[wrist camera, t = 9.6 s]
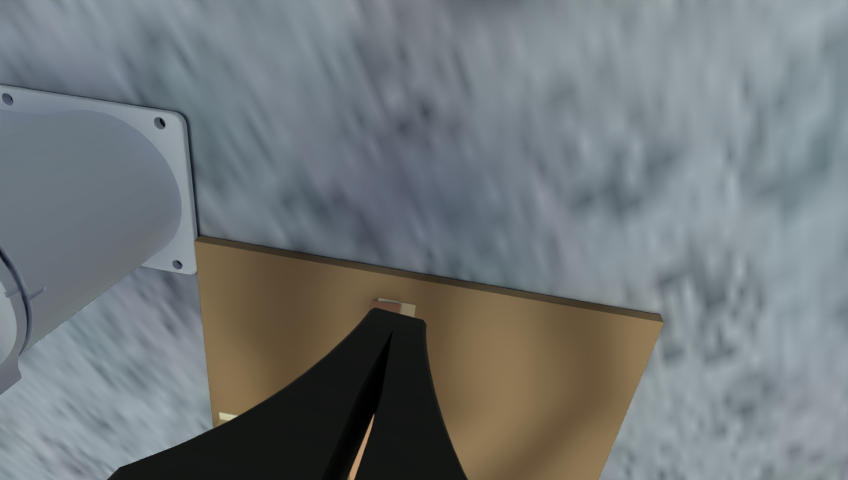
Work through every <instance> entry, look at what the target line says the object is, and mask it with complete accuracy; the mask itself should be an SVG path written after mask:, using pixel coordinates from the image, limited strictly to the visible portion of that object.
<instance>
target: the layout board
mask: <svg viewBox="0 0 848 480" xmlns="http://www.w3.org/2000/svg"><path fill="white" fill-rule="evenodd" d="M194 247H195V257H196V266H197V276H198V285H199V295H200V304H201V314H202V324H203V333H204V343H205V352H206V362H207V372H208V381H209V391H210V400H211V410H212V420H213V428H214V427H215V425H216V424H217V422H218V421H219V419H224V420H231V419H233V418H235V417H237V416H239V415H240V414H242V413H244V412H246V411H247V410H249V409H251V408H252V407H254V406H256V405H257V404H259V403H261V402H262V401H264V400H266V399H267V398H269V397H271V396H272V395H274V394H275V393H277V392H278V391H280V390H281V389H283V388H284V387H286V386H287V385H288V384H290V383H291V382H293V381H294V380H295V379H297V378H298V377H299V376H301V375H302V374H303V373H305V372H306V371H307V370H308V369H310V368H311V367H312V366H313V365H315V364H316V363H317V362H318V361H320V360H321V359H322V358H323V357H324V356H326V355H327V354H328V353H329V352H330V351H331V350H332V349H333V348H334V347H336V346H337V345H338V344H339V343H340V342H341V341H342V340H343V339H344V338H345V337H346V336H347V335H348V334H349V333H350V332H351V331H352V330H353V329H354V328H355V327H356V326H357V325H358V324H359V323H360V322H361V321H362V319H363V318H364V317H365V316H366V315H367V312H368V310H369V308H370V305H371V303H372V301H378V302H385V303H392V304H399V305H401V314H403V315H407V316H411V317H415V318H419V319H422V320H424V321H425V323H426V324H427V327H426V342H427V351H428V359H429V365H430V370H431V375H432V379H433V384H434V388H435V392H436V396H437V400H438V403H439V407H440V410H441V414H442V417H443V420H444V423H445V426H446V429H447V431H448V434H449V437H450V439H451V442H452V445H453V447H454V450H455V452H456V454H457V457H458V459H459V461H460V464H461V466H462V468H463V470H464V472H465V474H466V476H467V478H468V480H599V477H600V475H601V472H602V470H603V468H604V465H605V463H606V460H607V458H608V456H609V453H610V451H611V448H612V446H613V444H614V441H615V439H616V436H617V434H618V432H619V429H620V427H621V424H622V422H623V420H624V417H625V415H626V412H627V410H628V408H629V405H630V403H631V400H632V398H633V396H634V393H635V391H636V388H637V386H638V384H639V381H640V379H641V376H642V374H643V372H644V369H645V367H646V364H647V362H648V360H649V357H650V355H651V352H652V350H653V348H654V345H655V343H656V340H657V338H658V336H659V333H660V331H661V328H662V326H663V324H664V322H663V320H662V318H661V316H660V315H658V314H652V313H646V312H640V311H635V310H629V309H623V308H617V307H611V306H606V305H600V304H594V303H588V302H582V301H576V300H571V299H565V298H559V297H553V296H547V295H542V294H536V293H530V292H524V291H518V290H513V289H507V288H501V287H495V286H489V285H484V284H478V283H472V282H466V281H460V280H455V279H449V278H443V277H437V276H431V275H426V274H420V273H414V272H408V271H402V270H397V269H391V268H385V267H379V266H373V265H368V264H362V263H356V262H350V261H344V260H339V259H333V258H327V257H321V256H315V255H310V254H304V253H298V252H292V251H286V250H281V249H275V248H269V247H263V246H257V245H252V244H246V243H240V242H234V241H228V240H223V239H217V238H211V237H205V236H200V237H198V238H197V239H196V240H195V241H194Z"/></svg>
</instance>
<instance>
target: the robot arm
mask: <svg viewBox="0 0 848 480" xmlns="http://www.w3.org/2000/svg"><path fill="white" fill-rule="evenodd" d="M10 96H11V97H12V99H13V101H12V100H11V98H10ZM160 118H162V119H163V120H164V121H165V124H166V126H165V127H164V126H162V124H161V123H160V121H159V120H160ZM197 238H198V234H197V224H196V214H195V204H194V194H193V184H192V174H191V164H190V154H189V144H188V134H187V125H186V121H185V119H184V118H183V116H182V115H180V114H179V113H177V112H174V111H167V110H161V109H154V108H148V107H141V106H135V105H128V104H122V103H116V102H109V101H103V100H96V99H90V98H83V97H77V96H71V95H64V94H58V93H51V92H45V91H38V90H32V89H25V88H19V87H13V86H6V85H0V395H1V394H2V393H4V392H5V391H6V390H7V389H9V388H10V387H11V386H12V385H14V384H15V383H16V382H17V381H19V380H20V379H21V374H20V371H19V368H18V356H19V355H20V354H22V353H23V352H24V351H26V350H27V349H28V348H30V347H31V346H32V345H34V344H35V343H37V342H38V341H39V340H41V339H42V338H43V337H45V336H46V335H47V334H49V333H50V332H51V331H53V330H54V329H55V328H57V327H58V326H59V325H61V324H62V323H63V322H65V321H66V320H67V319H69V318H70V317H71V316H73V315H74V314H76V313H77V312H78V311H80V310H81V309H82V308H84V307H85V306H86V305H88V304H89V303H90V302H92V301H93V300H94V299H96V298H97V297H98V296H100V295H101V294H102V293H104V292H105V291H106V290H108V289H109V288H110V287H112V286H113V285H115V284H116V283H117V282H119V281H120V280H121V279H123V278H124V277H125V276H127V275H128V274H129V273H131V272H132V271H133V270H135V269H136V268H137V267H139V266H143V267H148V268H154V269H159V270H165V271H171V272H176V273H182V274H187V275H193V274H195V273H196V272H197V266H196V257H195V247H194V241H195V240H196V239H197ZM177 260H178V261H180V262H181V263H182V265H180V264H179V263H178V262H177ZM426 327H427V324H426V323H425V321H424V320H422V319H419V318H415V317H411V316H407V315H403V314H399V313H395V312H391V311H388V310H384V309H380V308H376V307H375V308H373V309H371V310H370V311H369V312H368V313H367V315H366V316H365V317H364V318H363V319H362V321H361V322H360V323H359V324H358V325H357V326H356V327H355V328H354V329H353V330H352V331H351V332H350V333H349V334H348V335H347V336H346V337H345V338H344V339H343V340H342V341H341V342H340V343H339V344H338V345H337V346H336V347H334V348H333V349H332V350H331V351H330V352H329V353H328V354H327V355H326V356H324V357H323V358H322V359H321V360H320V361H318V362H317V363H316V364H315V365H313V366H312V367H311V368H310V369H308V370H307V371H306V372H305V373H303V374H302V375H301V376H299V377H298V378H297V379H295V380H294V381H293V382H291V383H290V384H288V385H287V386H286V387H284V388H283V389H281V390H280V391H278V392H277V393H275V394H274V395H272V396H271V397H269V398H267V399H266V400H264V401H262V402H261V403H259V404H257V405H256V406H254V407H252V408H251V409H249V410H247V411H246V412H244V413H242V414H240V415H239V416H237V417H235V418H233V419H231V420H229V421H227V422H226V423H223V424H221V425H219V426H217V427H215V428H213V429H211V430H209V431H207V432H205V433H203V434H201V435H199V436H197V437H195V438H192V439H190V440H188V441H186V442H184V443H182V444H179V445H177V446H175V447H172V448H170V449H167V450H164V451H162V452H159V453H157V454H154V455H151V456H149V457H146V458H144V459H141V460H139V461H136V462H133V463H131V464H128V465H125V466H122V467H120V468H118V469H117V470H116V471H115V472H114V473H113V474H112V475H111V476H110V477H109V478H108V479H107V480H347V479H348V477H349V474H350V472H351V469H352V467H353V464H354V462H355V459H356V457H357V455H358V452H359V450H360V447H361V445H362V442H363V440H364V437H365V435H366V433H367V430H368V428H369V425H370V423H371V420H372V418H373V415H374V418H373V423H372V428H371V431H370V434H369V437H368V440H367V443H366V446H365V449H364V452H363V455H362V458H361V461H360V464H359V467H358V470H357V473H356V475H355V478H354V480H468V478H467V476H466V474H465V472H464V470H463V468H462V466H461V464H460V461H459V459H458V457H457V454H456V452H455V450H454V447H453V445H452V442H451V439H450V437H449V434H448V431H447V429H446V426H445V423H444V420H443V417H442V414H441V410H440V407H439V403H438V400H437V396H436V392H435V388H434V384H433V379H432V375H431V370H430V365H429V359H428V351H427V342H426Z"/></svg>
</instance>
